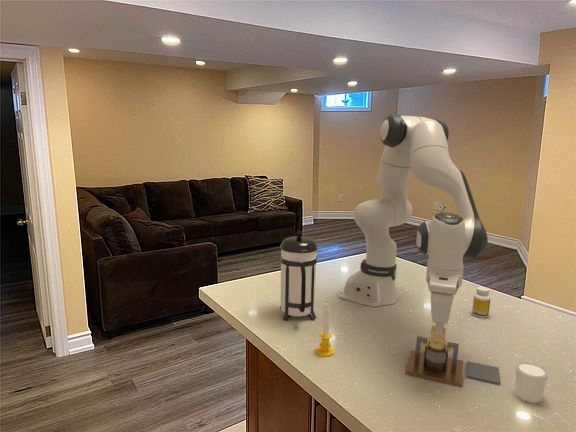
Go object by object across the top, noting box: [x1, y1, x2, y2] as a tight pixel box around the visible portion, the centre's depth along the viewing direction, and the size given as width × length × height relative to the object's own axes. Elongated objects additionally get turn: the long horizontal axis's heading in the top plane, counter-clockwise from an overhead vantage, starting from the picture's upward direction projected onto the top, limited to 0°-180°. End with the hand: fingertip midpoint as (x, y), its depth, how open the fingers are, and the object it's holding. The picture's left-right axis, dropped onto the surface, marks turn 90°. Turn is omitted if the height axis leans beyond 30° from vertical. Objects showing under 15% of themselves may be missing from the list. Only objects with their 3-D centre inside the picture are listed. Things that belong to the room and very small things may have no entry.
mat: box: [466, 360, 501, 386], centre depth 113 cm, size 8×8×1 cm
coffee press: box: [279, 230, 319, 322], centre depth 144 cm, size 17×16×30 cm
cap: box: [421, 325, 453, 353], centre depth 113 cm, size 8×4×6 cm, turn 67°
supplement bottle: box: [471, 286, 491, 319], centre depth 149 cm, size 5×5×10 cm
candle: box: [315, 301, 335, 358], centre depth 121 cm, size 5×5×16 cm
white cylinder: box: [515, 362, 549, 404], centre depth 103 cm, size 7×7×7 cm
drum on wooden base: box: [405, 335, 464, 388], centre depth 114 cm, size 14×12×8 cm
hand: (440, 326), depth 112 cm, fingers open, 8 cm apart
